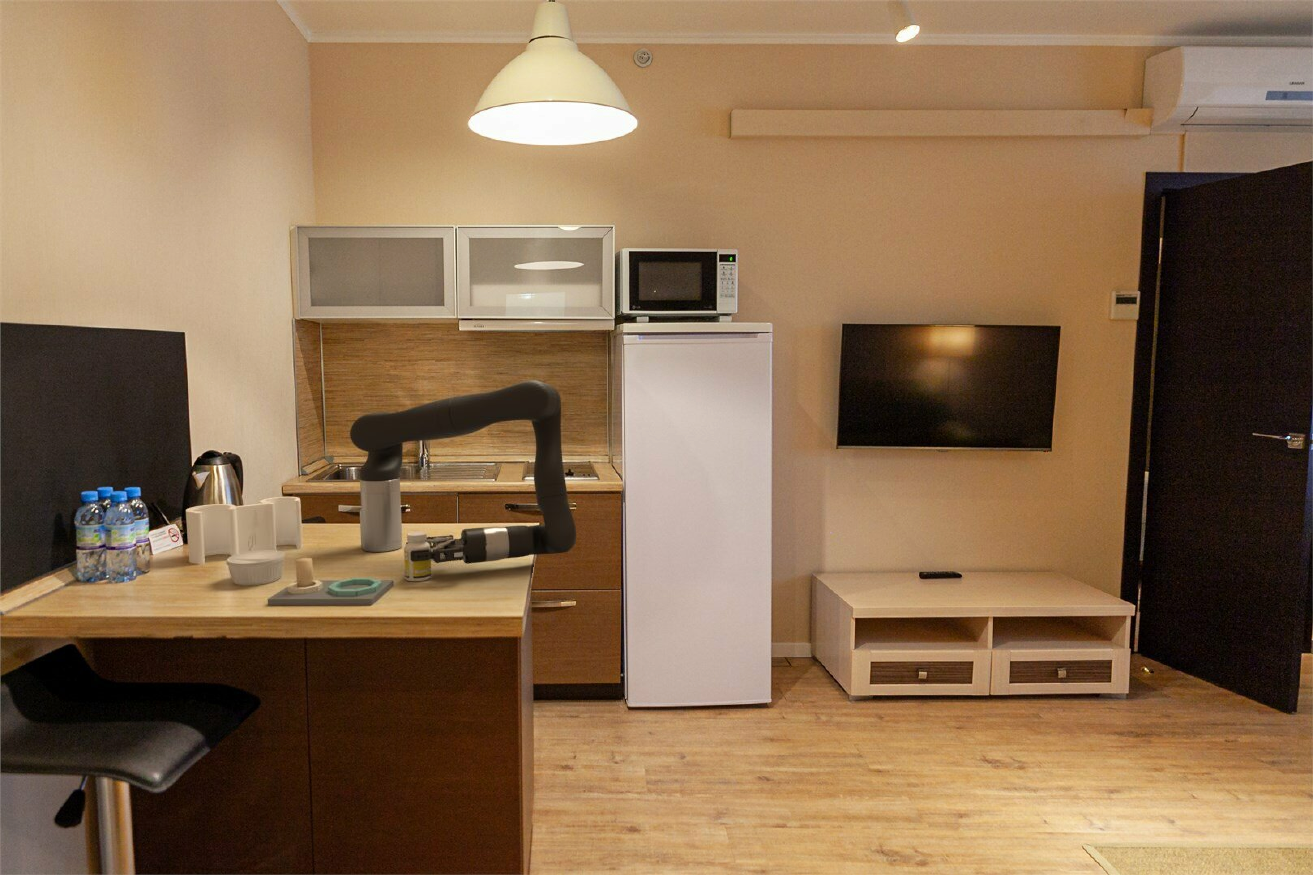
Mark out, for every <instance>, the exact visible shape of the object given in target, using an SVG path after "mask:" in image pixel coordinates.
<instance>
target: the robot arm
mask: <svg viewBox="0 0 1313 875" xmlns="http://www.w3.org/2000/svg"><path fill="white" fill-rule="evenodd" d="M511 421H531V424H532V428H533V431H534V439H535V456H534V465H533V482H534V484H533V485H534V490H535V498H536V504H537V507H538V510H539V511H540V512H541V513H542V518H543V522H544V524H536V525H535V524H534V525H529V526H528V525H511V526H483V527H475V528H464V529H462V531H461V532H460V538H454V535H451V534H450V535H439V536H438V535H437V536H427V538H426V542H427V543H429V544H430V551H429V549H423V550H413V551H411V552H410V558H411V561H412V562H415V561H425V560H429V559H430V561H431V562H434V563H436V564H438V563H447V562H455V561H463V563H464V564H478V563H487V562H497V561H501V560H505V559H516V558H523V557H524V558H525V557H528V556H532V555H533V556H535V555H537V556H538V555H551V554H564V553H568V552H569V551H571V550H572V549H573V548H574V547H575V544H576V542H577V528H576V524H575V521H574V517H573V513H572V511H571V508H570V505H569V501H568V500H569V499H568V498H569V497H568V490H567V483H566V477H565V472H564V469H565V468H564V462H563V451H562V450H563V448H562V400H561V395H560V393H559V391H558V390H557V388H556V387H554V386H553V385H551V384H550V383H546V382H543V381H541V380H535V379H532V380H531V379H530V380H525V381H522V382H519V383H515V384H513V385H509V386H507V387H502V388H501V389H497V390H492V391H488V392H478V393H471V394H464V395H458V396H457V395H456V396H452V397H448V398H442V399H438V400H435V401H434V400H433V401H431V402H427V403H423V404H421V405H417V406H414V407H412V408H408V409H405V410H402V411H396V412H395V411H394V412H387V411H381V412H372V413H369V414H368V413H367V414H364V415H361V416H360V417H358V418H357V419H356V420H355V421H354V422H353V424H352V425H351V427H350V430H349V437H350V440H351V441H352V444H353V445H355V447H356V448H358V449H359V450H361V451H363V452H367V458H366V461H365V463H364V464H363V465H362V466H361V467H360V468H359V484H360V485H359V488H360V506H361V507H360V509H359V524H360V525H359V527H360V529H359V530H360V531H359V532H360V547H361V548H362V549H363V551H366V552H371V553H372V552H375V553H380V552H389V551H396V550H398V549H401V548H402V547H403V533H402V532H403V530H402V527H403V526H402V525H403V524H402V506H401V504H402V502H401V499H402V498H401V475H400V474H401V472H400V471H401V468H402V466H403V454H404V453H403V451H404V450H403V449H404V448H403V446H404V443H408V442H420V441H422V442H423V441H434V440H435V441H436V440H442V439H450V438H457V437H461V436H466V435H467V436H468V435H470V434H474V433H476V432H478V431H481V430H483V429H485V428H487V427H490V426H491V425H494V424H499V423H504V422H511ZM406 544H408V541H407V542H405V545H406Z"/></svg>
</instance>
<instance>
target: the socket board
mask: <svg viewBox="0 0 1313 875" xmlns="http://www.w3.org/2000/svg"><path fill="white" fill-rule="evenodd" d="M313 572H314V571H313V558H312V557H311V558H310V557H302V558H297V559H296V560H295V573H296V574H295V575H296V580H295V581H294V582H292V583H290V584H288V585H287V586H285V587H284V588H283V589H280V591H278V592H277V593H275V594H273V595H272V596H271V597H269V598H267V605H268V606H372V605H373V606H374V604H375V603H376V602H377V601H379V600H380V599H381V598H382V597H383V596H384V595H385V594H386V593H388V592H389V591H390V589H392V588H393V587H394V586H395V585H394V583H395V582H394V579H393V580H392V579H377V578H374V577H353V578H347V579H343V580H340V579H338V580H337V579H333V580H330V579H329V580H327V579H321V580H319V579H318V580H317V579H314V576H313V575H314V574H313ZM283 604H284V605H283Z"/></svg>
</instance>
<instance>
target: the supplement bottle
mask: <svg viewBox="0 0 1313 875" xmlns="http://www.w3.org/2000/svg"><path fill="white" fill-rule="evenodd" d="M427 534H428V533H427V532H425V531H412V532H411V531H410V532H408V533H406V540H407V542H408V544H406V543H405V545H404V546H403V554H404V555H403V557H404V577H405V580H406V581H408V582H424V581H427V580H430V579H431V578H432V561H430V559H429V560H425V561H415V562H412V561H411V558H410V552H411V551H413V550H423V549H429V551H430V544H429V543H427V542H426V538H427V537H428V535H427ZM429 578H430V579H429Z"/></svg>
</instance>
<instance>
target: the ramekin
mask: <svg viewBox="0 0 1313 875" xmlns="http://www.w3.org/2000/svg"><path fill="white" fill-rule="evenodd" d="M285 557H286V554H285V552H283V551H282V550H277V551H276V550H257V551H250V552H244V553H240V554H236V555H233V556H231V555H230V556H229V557H228V558H227V559H226V565H227V566H228V571H229V575H230V577H231V581H232V582H233V584H236V585H237V586H244V587H248V586H260V585H266V584H270V583H274V582H276V581H278V580H280V579H281V577H282V575H283V570H284V562H285V560H284V559H285Z"/></svg>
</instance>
